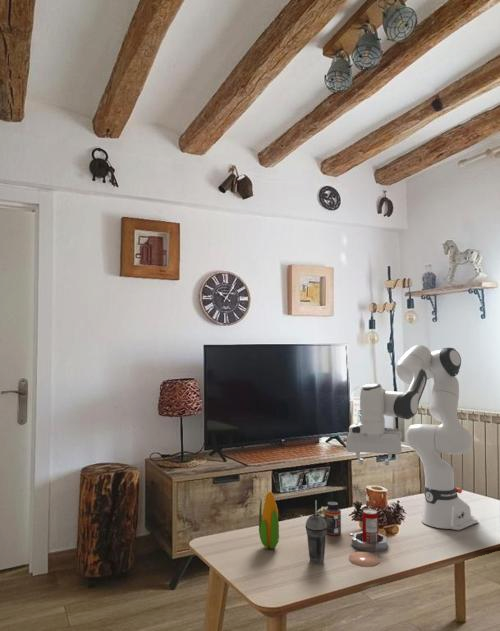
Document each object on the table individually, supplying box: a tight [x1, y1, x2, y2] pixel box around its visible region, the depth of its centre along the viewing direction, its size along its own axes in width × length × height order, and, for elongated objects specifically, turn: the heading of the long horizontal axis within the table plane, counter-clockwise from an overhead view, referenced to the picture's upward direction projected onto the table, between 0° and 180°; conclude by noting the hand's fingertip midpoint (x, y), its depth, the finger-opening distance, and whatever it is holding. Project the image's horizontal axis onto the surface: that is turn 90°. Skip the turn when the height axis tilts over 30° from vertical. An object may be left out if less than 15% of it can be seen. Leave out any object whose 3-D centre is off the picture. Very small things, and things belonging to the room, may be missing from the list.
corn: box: [258, 491, 280, 550], centre depth 180 cm, size 7×8×20 cm
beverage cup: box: [305, 499, 327, 566], centre depth 169 cm, size 7×7×20 cm
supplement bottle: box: [325, 501, 342, 536], centre depth 194 cm, size 6×6×11 cm
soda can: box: [361, 508, 379, 543], centre depth 183 cm, size 6×6×12 cm
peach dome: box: [348, 551, 380, 567], centre depth 170 cm, size 10×10×1 cm
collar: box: [349, 531, 388, 553], centre depth 183 cm, size 13×12×3 cm
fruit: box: [317, 505, 328, 519], centre depth 203 cm, size 9×9×8 cm
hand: (374, 464), depth 190 cm, fingers open, 8 cm apart
